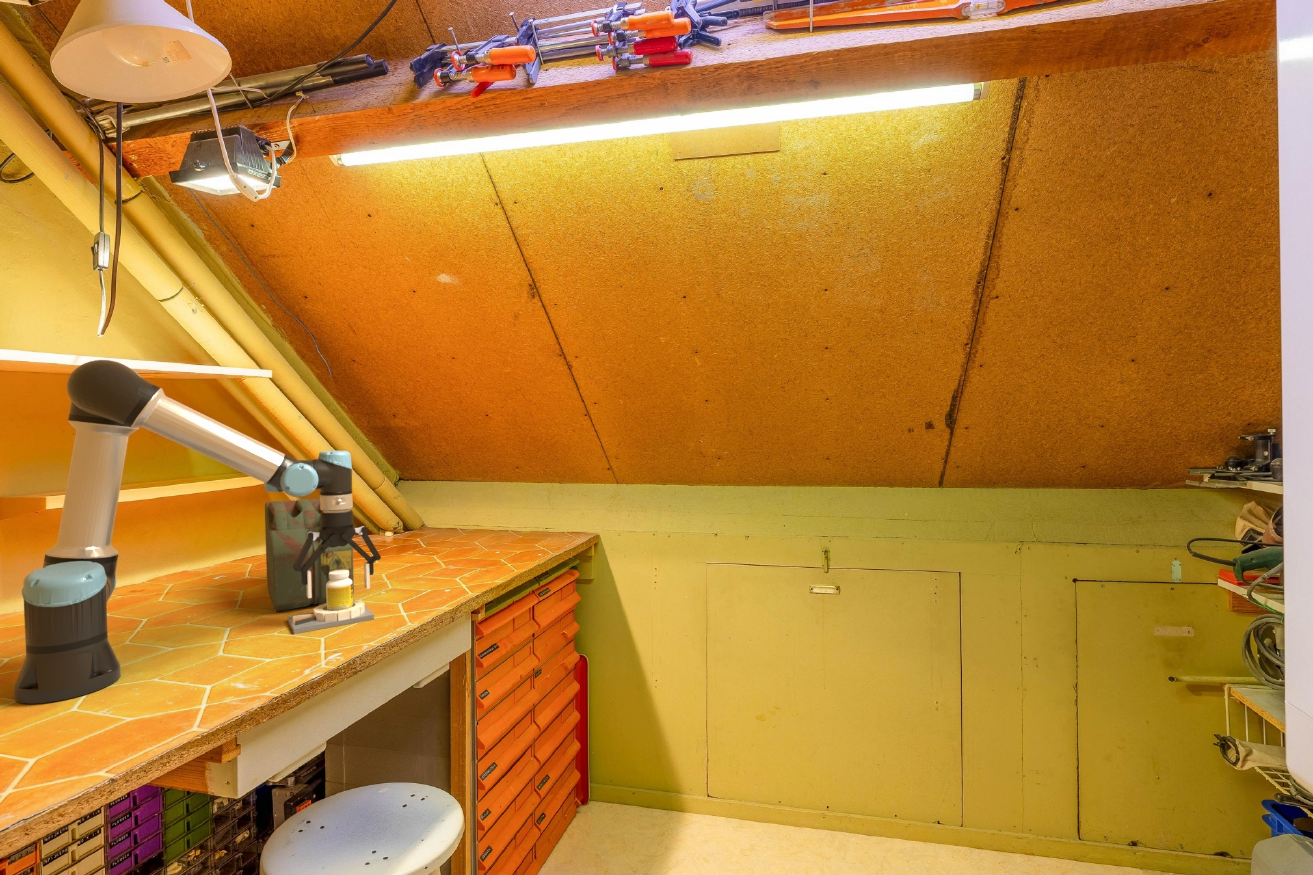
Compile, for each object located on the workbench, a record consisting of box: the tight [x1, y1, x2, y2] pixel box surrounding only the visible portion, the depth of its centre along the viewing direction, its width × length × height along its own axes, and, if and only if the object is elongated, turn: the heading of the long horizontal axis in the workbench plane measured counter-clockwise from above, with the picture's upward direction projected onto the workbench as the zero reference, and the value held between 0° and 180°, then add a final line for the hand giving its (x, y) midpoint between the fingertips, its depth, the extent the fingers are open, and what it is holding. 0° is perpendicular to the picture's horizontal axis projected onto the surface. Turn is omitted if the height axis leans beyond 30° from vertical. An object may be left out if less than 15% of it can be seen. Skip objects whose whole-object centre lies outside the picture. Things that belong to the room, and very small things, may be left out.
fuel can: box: [264, 497, 355, 612], centre depth 185 cm, size 19×35×27 cm, turn 35°
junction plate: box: [287, 599, 375, 635], centre depth 162 cm, size 18×12×3 cm, turn 127°
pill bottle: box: [325, 570, 354, 611], centre depth 163 cm, size 6×6×11 cm
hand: (338, 592), depth 163 cm, fingers open, 13 cm apart
